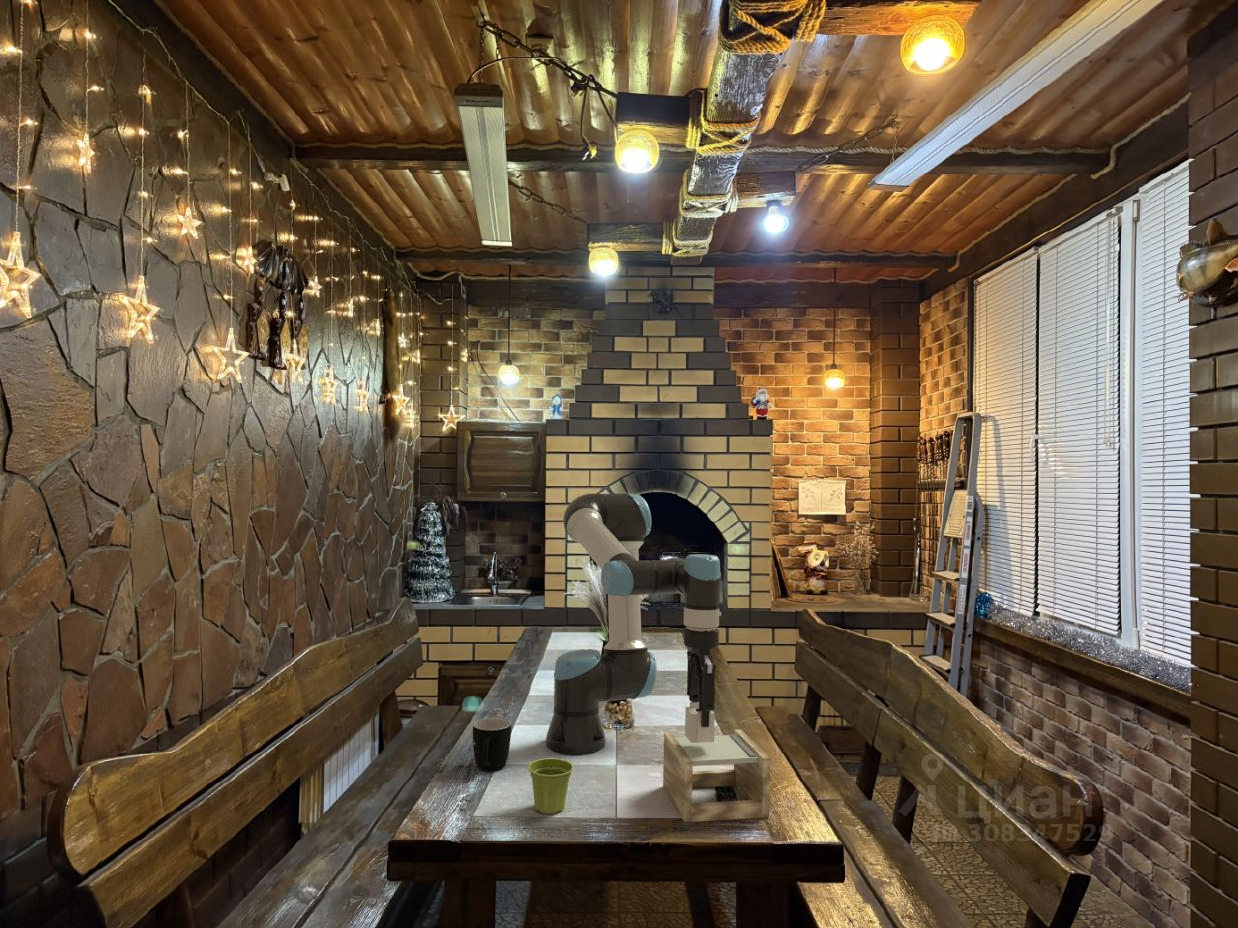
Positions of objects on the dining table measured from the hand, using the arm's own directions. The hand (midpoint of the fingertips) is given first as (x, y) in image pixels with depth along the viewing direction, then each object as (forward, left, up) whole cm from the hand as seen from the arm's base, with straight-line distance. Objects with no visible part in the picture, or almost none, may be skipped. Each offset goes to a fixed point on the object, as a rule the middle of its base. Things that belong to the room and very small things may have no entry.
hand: (699, 736), depth 165 cm
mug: (-44, +24, -14) cm, 52 cm away
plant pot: (-32, +1, -14) cm, 35 cm away
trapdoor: (+3, 0, -4) cm, 5 cm away
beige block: (0, 0, 0) cm, 0 cm away
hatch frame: (+3, 0, -14) cm, 14 cm away
